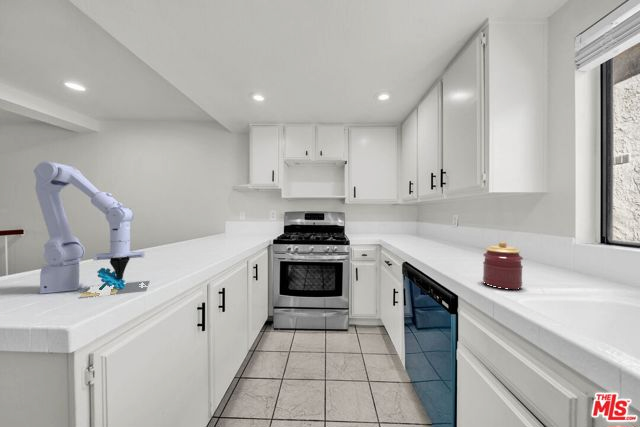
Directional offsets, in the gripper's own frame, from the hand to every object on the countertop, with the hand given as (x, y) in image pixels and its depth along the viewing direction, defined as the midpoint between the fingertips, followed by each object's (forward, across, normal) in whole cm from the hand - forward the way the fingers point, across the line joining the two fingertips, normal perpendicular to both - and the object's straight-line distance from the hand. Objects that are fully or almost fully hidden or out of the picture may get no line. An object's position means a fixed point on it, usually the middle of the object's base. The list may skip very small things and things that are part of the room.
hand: (120, 278), depth 95 cm
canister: (+4, +132, -59) cm, 144 cm away
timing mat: (+4, 0, 0) cm, 4 cm away
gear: (+4, -2, 0) cm, 4 cm away
